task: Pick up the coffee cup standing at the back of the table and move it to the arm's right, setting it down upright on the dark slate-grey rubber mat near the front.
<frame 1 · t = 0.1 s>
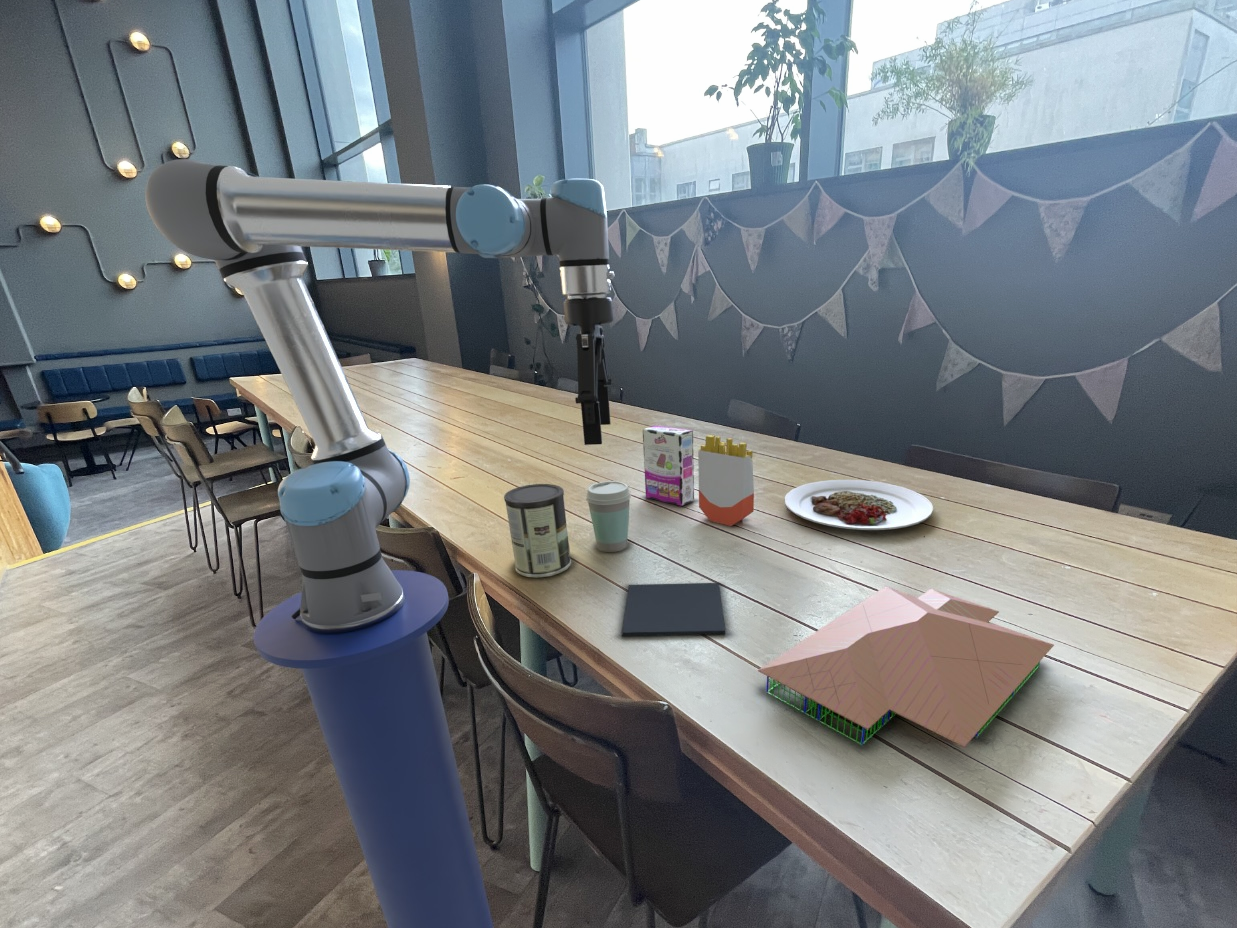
hand: (598, 433, 103), 24 cm above the table, tool pointing down, fingers open, 13 cm apart
candy bar box: (669, 499, 142), on the table
mat: (673, 609, 96), on the table
house: (910, 675, 78), on the table
french fries container: (726, 520, 129), on the table
coffee cup: (612, 546, 119), on the table
plated food: (855, 510, 131), on the table
coffee can: (543, 566, 112), on the table
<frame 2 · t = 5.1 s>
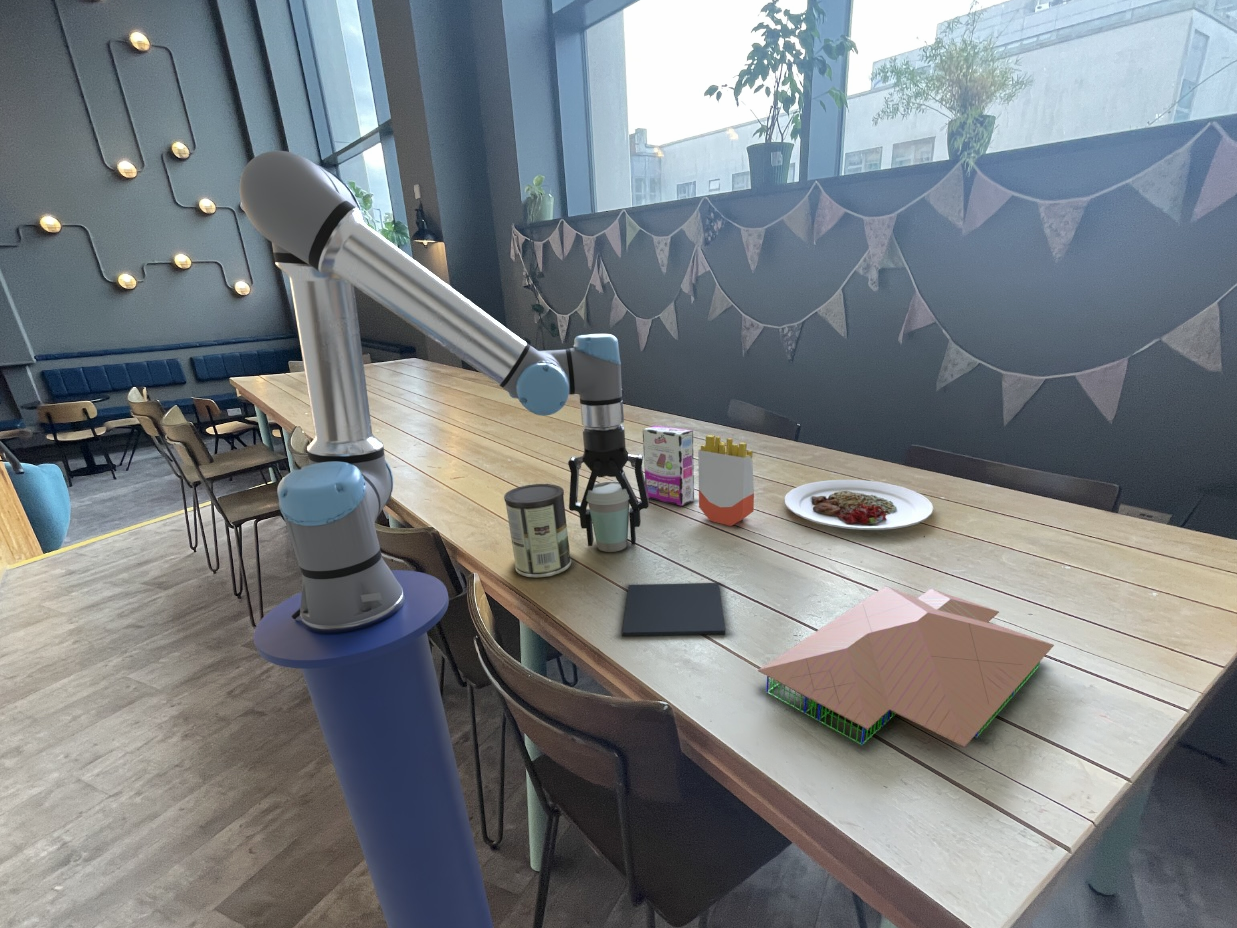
hand: (612, 542, 119), 1 cm above the table, tool pointing down, fingers closed on coffee cup, 8 cm apart
coffee cup: (612, 546, 119), on the table, touching gripper
everything else where it was.
when the fingers open (1 cm above the table, at t = 14.2 s): coffee cup stays where it is, resting on mat.
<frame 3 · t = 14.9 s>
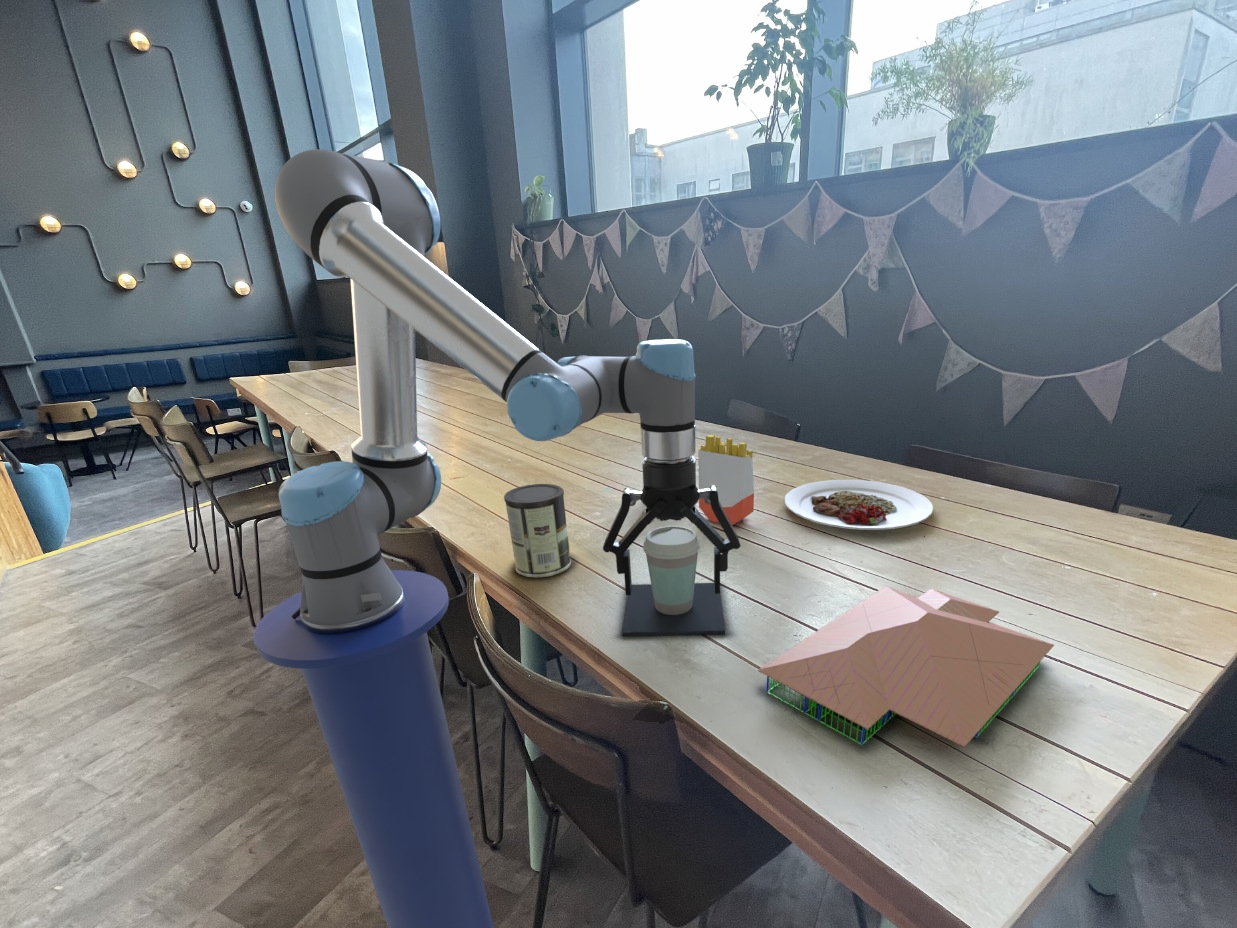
hand: (672, 590, 94), 3 cm above the table, tool pointing down, fingers open, 13 cm apart
coffee cup: (673, 606, 96), resting on mat
everything else where it was.
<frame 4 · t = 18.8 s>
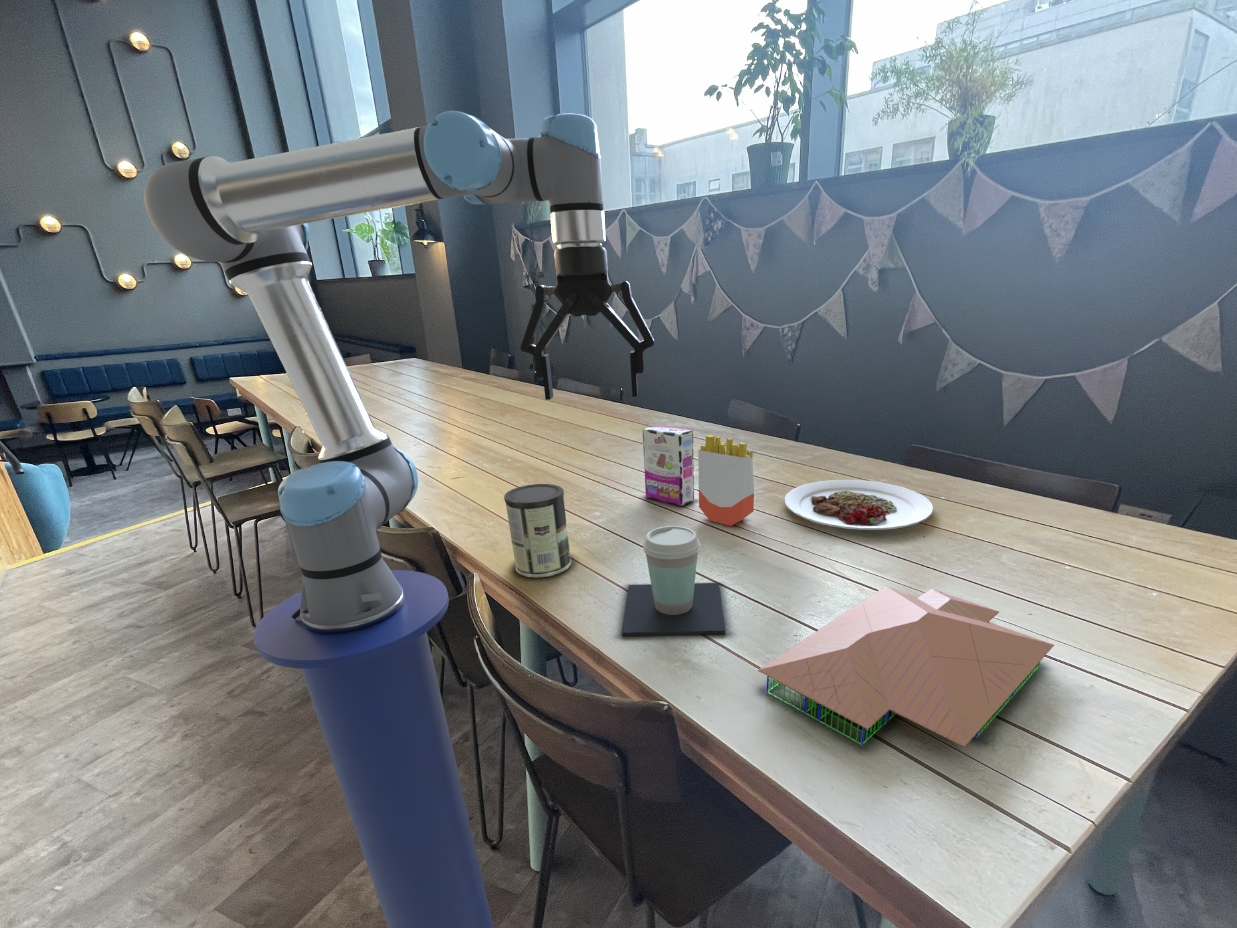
hand: (592, 396, 96), 31 cm above the table, tool pointing down, fingers open, 13 cm apart
nothing on the table moved.
at the end: coffee cup inside the target area on the mat (0.0 cm from its centre), point 0.4 cm above the mat's base; coffee cup tilted 0°; coffee cup moved 27.7 cm from its start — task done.
